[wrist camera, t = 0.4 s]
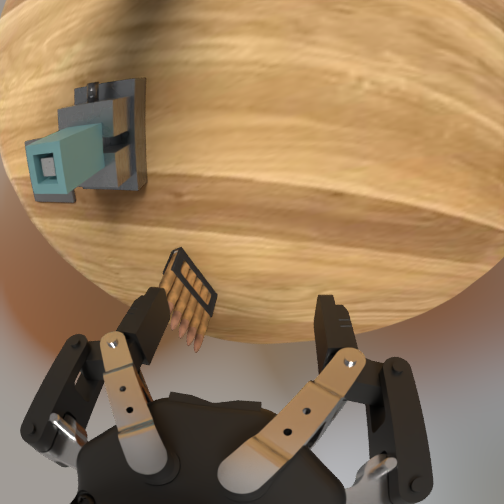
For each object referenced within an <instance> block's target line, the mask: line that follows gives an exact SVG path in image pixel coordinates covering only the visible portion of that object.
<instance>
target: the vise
mask: <svg viewBox="0 0 504 504" xmlns="http://www.w3.org/2000/svg"><path fill="white" fill-rule="evenodd" d="M74 91H75V105H71V106H68V107H64V108H61V109H58V125H59V131H60V130H63V129H65V128H68V127H74V126H82V125H89V124H98V123H102V140H103V153H104V164H105V167H104V168H103V169H101V170H100V171H98V172H97V173H96V174H94V175H93V176H91V177H90V178H88V179H87V180H86V181H84V182H83V183H81V184H80V185H79V186H77V187H83V189H113V190H139V189H140V188H141V187H142V186H143V185H144V184H146V183H147V167H146V142H145V92H146V78H135V79H127V80H119V81H113V82H107V83H101V84H99V82H94V83H89V84H87V86H85V87H81V88H76V89H74ZM41 163H42V169H43V175H44V176H56V169H55V163H54V156H53V153H51V154H49V155H47V156H45V157H43V158H41Z"/></svg>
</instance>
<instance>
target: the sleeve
mask: <svg viewBox="0 0 504 504" xmlns="http://www.w3.org/2000/svg"><path fill="white" fill-rule="evenodd" d="M26 153H27V160H28V166H29V171H30V177H31V182H32V187H33V191H34V194H68V193H69V192H71V191H72V190H73V189H75V188H76V187H77V186H79V185H80V184H81V183H83V182H84V181H86V180H87V179H88V178H90V177H91V176H93V175H94V174H96V173H97V172H98V171H100V170H101V169H103V168H104V167H105V164H104V153H103V140H102V123H98V124H89V125H82V126H74V127H68V128H65V129H63V130H60V131H58V132H55V133H53V134H51V135H48V136H46V137H44V138H42V139H40V140H37V141H35V142H33V143H31V144H29V145H27V146H26ZM51 153H53V156H54V163H55V169H56V176H44V175H43V169H42V163H41V158H43V157H45V156H47V155H49V154H51Z"/></svg>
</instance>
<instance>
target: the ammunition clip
mask: <svg viewBox="0 0 504 504" xmlns="http://www.w3.org/2000/svg"><path fill="white" fill-rule="evenodd" d="M159 288H164V289H165V292H166V296H167V300H168V304H169V307H170V314H171V312H172V310H173V307H174V306H175V307H174V311H173V315H172V319H171V330H174V329H175V328H176V327H177V325H178V323H179V321H180V319H181V322H180V327H179V337H180V338H182V337H183V336H184V334H185V333H186V331H187V329H188V332H187V345H188V346H189V345H190V344H191V343H192V341H193V339H194V337H195V341H194V351H195V353H197V352H198V351H199V349H200V347H201V345H202V342H203V338H204V335H205V333H206V331H207V327H208V323H209V318H210V317H212V315H213V311H214V307H215V303H216V299H217V293H216V292H215V291H214V289H213V288H212V287H211V286H210V284H209V283H208V282H207V280H206V279H205V278H204V276H203V275H202V274H201V273H200V271H199V270H198V269H197V267H196V266H195V265H194V263H193V262H192V261H191V259H190V258H189V257H188V255H187V254H186V252H185V251H184V250H183V248H182V247H179V248H177V249H175V250H173V251H172V252H171V254H170V257H169V259H168V261H167V264H166V266H165V268H164V271H163V277H162V280H161V282H160V284H159ZM181 316H182V318H181ZM188 326H189V327H188Z"/></svg>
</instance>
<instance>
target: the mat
mask: <svg viewBox="0 0 504 504" xmlns="http://www.w3.org/2000/svg"><path fill="white" fill-rule="evenodd" d="M40 139H42V138H39V139H34V140H29V141H26V142H25V149H26V146H27V145H29V144H31V143H33V142H35V141H37V140H40ZM26 156H27V153H26ZM27 162H28V160H27ZM28 168H29V166H28ZM29 173H30V171H29ZM30 179H31V177H30ZM31 184H32V182H31ZM32 188H33V187H32ZM33 193H34V191H33ZM34 197H35V201H43V202H72V203H74V202H75V201H76V198H75V193H74V189H73V190H72V191H71V192H69V193H68V194H34Z"/></svg>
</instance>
